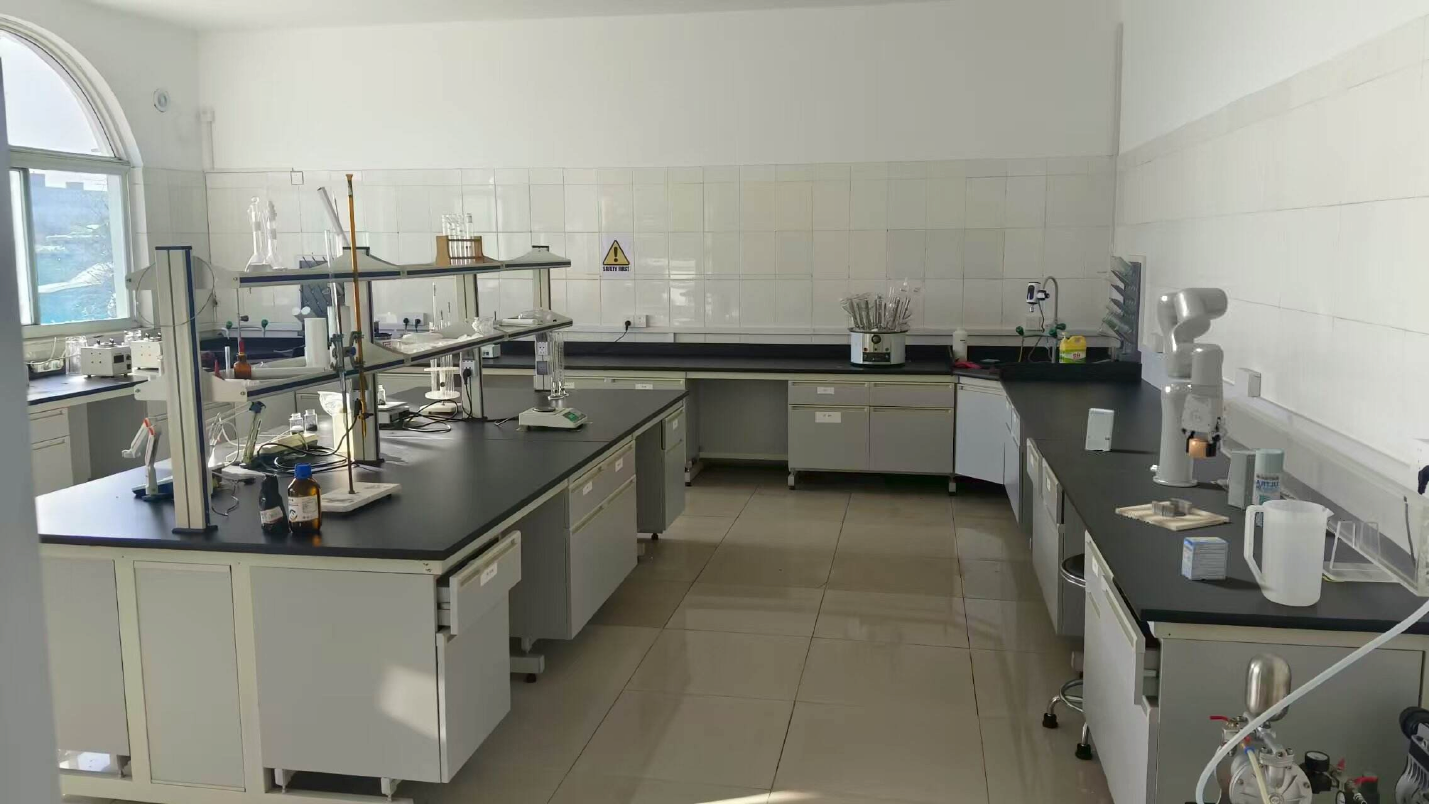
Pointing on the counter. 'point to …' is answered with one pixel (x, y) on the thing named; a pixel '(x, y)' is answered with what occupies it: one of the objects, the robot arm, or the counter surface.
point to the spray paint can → (1267, 477)
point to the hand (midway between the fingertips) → (1200, 453)
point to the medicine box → (1204, 558)
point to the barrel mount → (1172, 515)
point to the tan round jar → (1198, 447)
